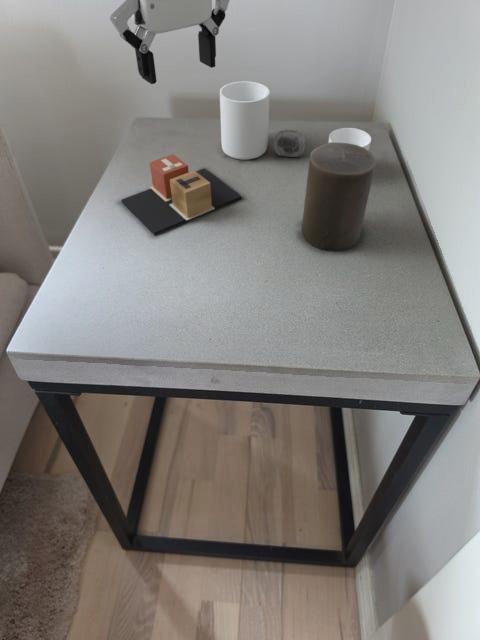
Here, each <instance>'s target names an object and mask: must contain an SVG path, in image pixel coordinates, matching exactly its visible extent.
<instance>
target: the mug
mask: <svg viewBox="0 0 480 640" xmlns="http://www.w3.org/2000/svg"><path fill="white" fill-rule="evenodd" d="M270 93H271V92H270V89H269V88H268V86H267V85H265V84H262V83H259V82H255V81H249V80H247V81H246V80H245V81H244V80H243V81H234V82H230V83H227V84H225V85H223V86H222V87H221V88H220V90H219V110H220V111H219V112H220V113H219V115H220V139H221V140H220V141H221V143H220V144H221V149H222V151H223V153H224V154H226V156H228V157H230V158H231V159H236V160H239V161H240V160H243V161H247V160H248V161H249V160H253V159H257V158H259V157H261V156H263V155H264V154H265V153H266V151H267V149H268V142H269V121H270V120H269V119H270Z"/></svg>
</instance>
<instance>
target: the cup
mask: <svg viewBox="0 0 480 640" xmlns="http://www.w3.org/2000/svg"><path fill="white" fill-rule="evenodd" d="M330 142H334V143H336V142H337V143H349V144H354V145H358V146H360V147H363V148H365V149H366V150H368V151H370V149H371V146H372V136H371V135H370V134H369V133H368V132H367V131H364V130H363V129H359V128H355V127H341V128H336V129H334V130H332V131H331V132H330V133H329V135H328V141H327V143H330Z"/></svg>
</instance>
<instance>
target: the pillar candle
mask: <svg viewBox="0 0 480 640" xmlns="http://www.w3.org/2000/svg"><path fill="white" fill-rule="evenodd" d="M376 164H377V160H376V155H375V154H374V152H372V151H370V150H369V151H368V150H366V149H365V148H363V147H360V146H358V145H354V144H349V143H337V142H336V143H334V142H330V143H328V142H327V143H324V144H321V145H319V146H318V145H317V147H315V148H314V149H312V151H311V152H310V156H309V163H308V169H307V170H308V172H307V179H306V180H307V181H306V187H305V195H304V205H303V213H302V221H301V234H302V238H303V239H304V240H305V241H306V242H307V243H308V244H309V245H311V246H312V247H315V248H317V249H320V250H321V251H327V252H337V251H345V250H348V249H350V248H353V247H354V246H355V245H356V244H357V243H358V242H359V240H360V237H361V234H362V233H361V232H362V228H363V227H362V226H363V223H364V218H365V214H366V210H367V205H368V202H369V196H370V192H371V187H372V182H373V177H374V174H375V167H376Z"/></svg>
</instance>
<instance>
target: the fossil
mask: <svg viewBox="0 0 480 640" xmlns="http://www.w3.org/2000/svg"><path fill="white" fill-rule="evenodd" d="M272 145H273V149H274V151H275V153H276V155H278V156H279V157H280V156H281V157H287V158H288V157H289V158H294V157H296V158H297V157H300V156H302V155H303V153H304V151H305V148H306V140H305V137H304V134H303V133H302V132H301V131H299V130H291V129H290V130H286V129H284V130H279V131H278V132H277V133H275V135H274V137H273V139H272Z"/></svg>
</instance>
